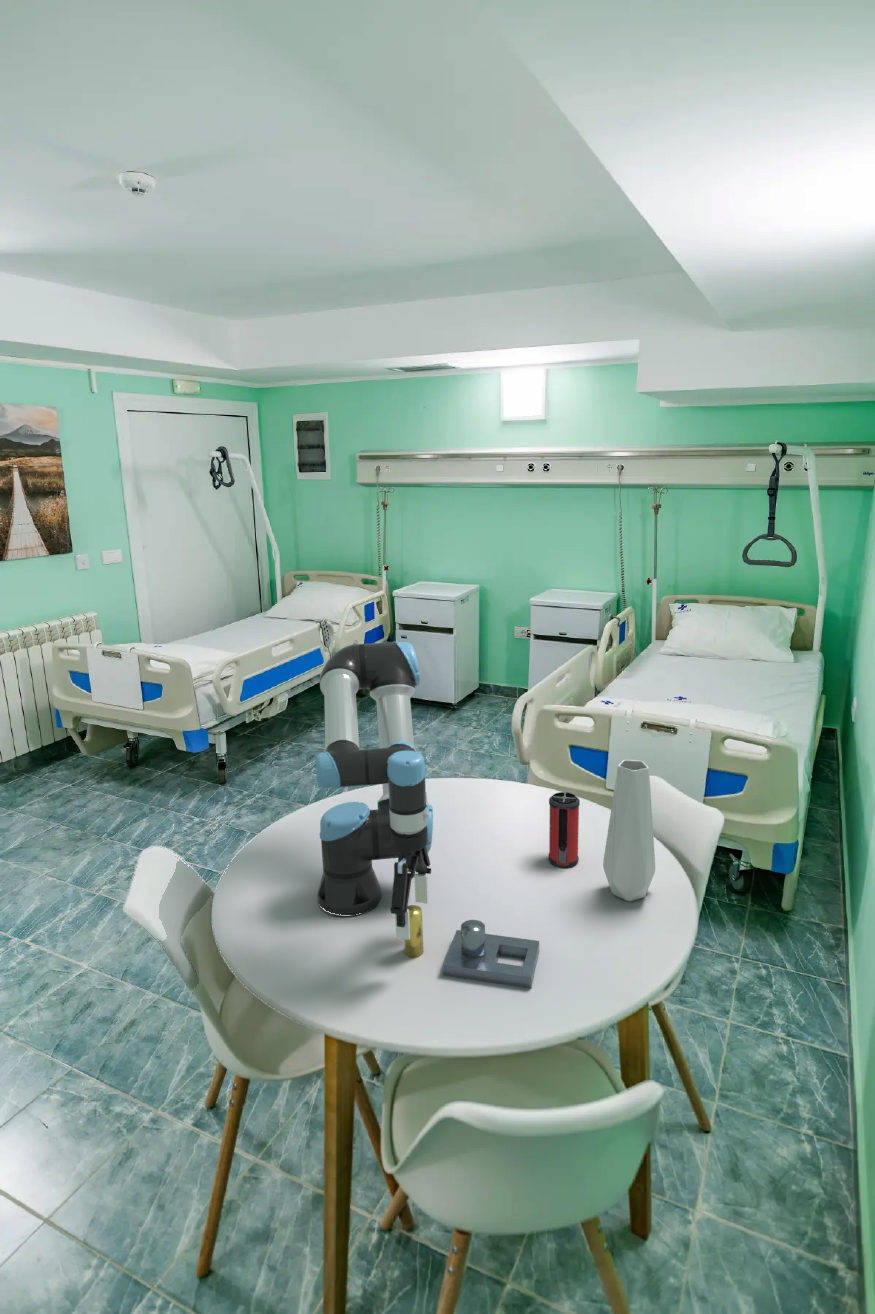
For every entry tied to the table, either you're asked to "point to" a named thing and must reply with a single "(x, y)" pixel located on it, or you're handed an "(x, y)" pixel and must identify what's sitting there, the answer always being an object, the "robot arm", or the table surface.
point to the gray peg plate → (490, 956)
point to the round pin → (415, 933)
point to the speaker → (564, 829)
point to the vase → (630, 833)
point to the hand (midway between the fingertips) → (412, 919)
